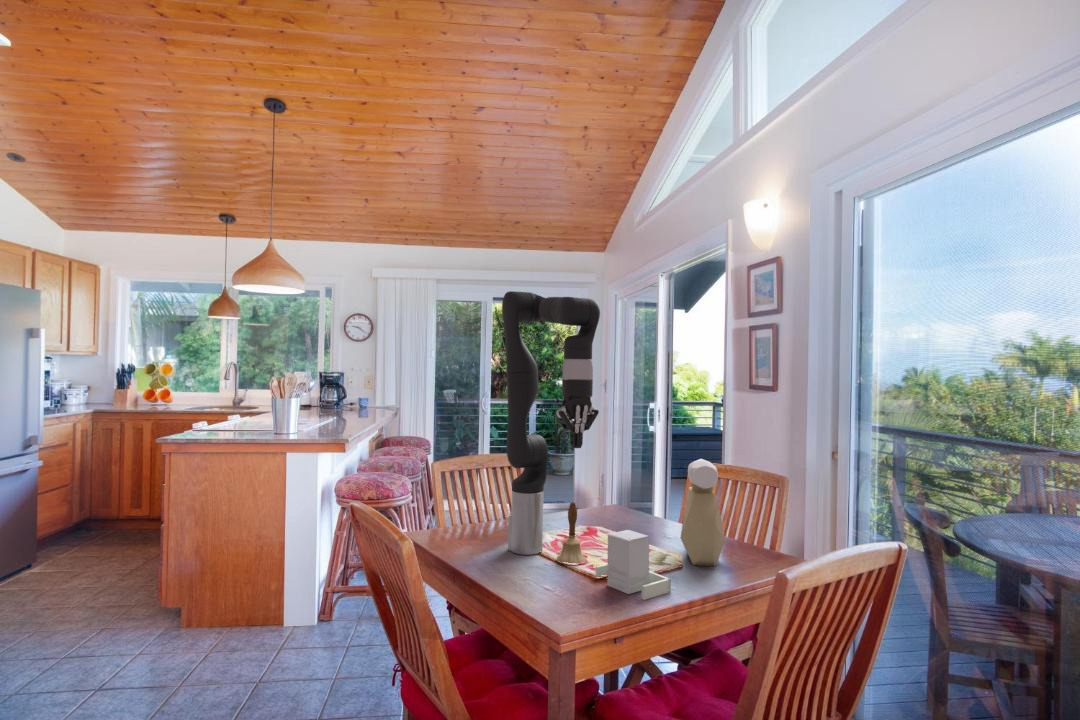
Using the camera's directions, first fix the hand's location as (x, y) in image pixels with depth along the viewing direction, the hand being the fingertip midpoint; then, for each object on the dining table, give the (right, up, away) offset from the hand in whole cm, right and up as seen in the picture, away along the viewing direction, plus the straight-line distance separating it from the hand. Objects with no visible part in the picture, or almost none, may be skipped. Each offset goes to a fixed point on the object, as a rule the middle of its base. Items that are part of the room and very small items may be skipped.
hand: (576, 447), depth 144 cm
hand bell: (0, -34, +16) cm, 37 cm away
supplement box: (+12, -33, -3) cm, 36 cm away
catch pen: (+14, -33, -2) cm, 36 cm away
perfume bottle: (+36, -34, +19) cm, 54 cm away
